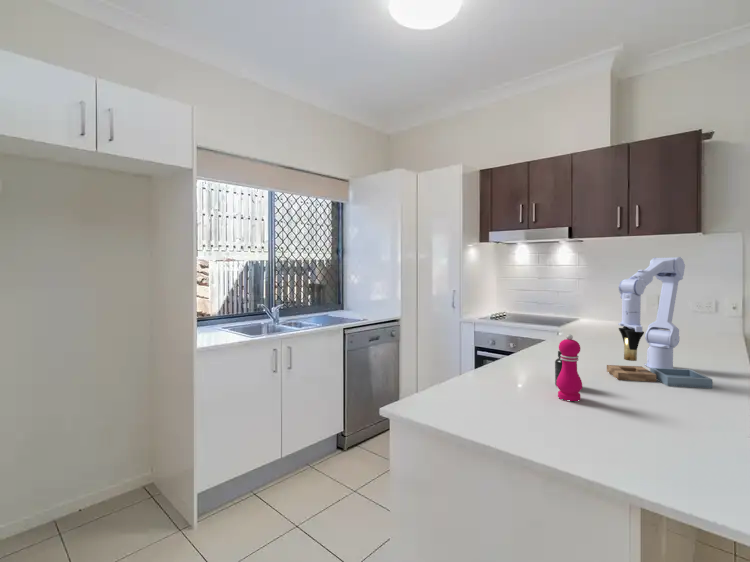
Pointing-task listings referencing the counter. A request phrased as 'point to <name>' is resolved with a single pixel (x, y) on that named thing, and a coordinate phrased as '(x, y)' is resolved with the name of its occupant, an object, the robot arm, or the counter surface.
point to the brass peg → (629, 351)
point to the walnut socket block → (631, 373)
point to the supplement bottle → (558, 366)
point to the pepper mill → (569, 370)
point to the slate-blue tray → (681, 378)
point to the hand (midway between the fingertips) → (630, 348)
